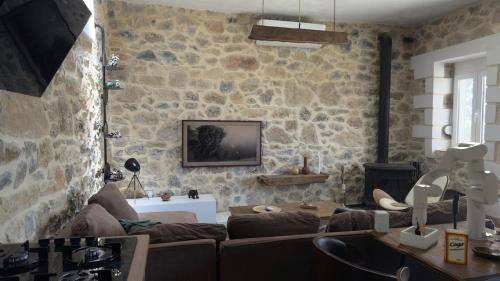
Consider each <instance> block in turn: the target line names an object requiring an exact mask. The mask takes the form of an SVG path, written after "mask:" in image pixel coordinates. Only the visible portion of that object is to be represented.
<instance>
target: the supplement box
mask: <svg viewBox="0 0 500 281" xmlns="http://www.w3.org/2000/svg"><path fill="white" fill-rule="evenodd" d="M374 230H375V231H376V232H377V233H390V213H389V212H388V211H386V210H374Z"/></svg>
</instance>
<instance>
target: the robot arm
mask: <svg viewBox="0 0 500 281" xmlns="http://www.w3.org/2000/svg"><path fill="white" fill-rule="evenodd" d="M487 154H488V147H487V146H486V144H484V143H482V142H481V143H480V142H469V141H466V142H464V141H463V142H461V143H460V142H459V144H458V145H457V146H451V147H448V148H447V149H446V150H445V152H444V154H443V155H442V156H441V158H440V160H439V162H438V163H437V165H436V166H435V167H433V168H432V169H431V170H429V171H428V172H427V173H425V175H424V176H422V178H421V180H420V181H419V183H417V184H414V185H413V195H412V196H413V201H412V204H413V205H412V208H413V209H412V218H411V219H412V220H411V223H412V225H413V226H414V227H415V235H419V236H421V231H420V227H421V225H423V223H424V222H425V225H424V228H425V226H426V223H427V220H428V219H427V214H428V212H427V210H428V198H439V197H441V196H442V195H443V188H442V187H441V186H440V185H437V184H434V182H435V181H437V180H438V179H440V178H443V177H446V176H450V174H452V173H453V170H454V169H455V167H456V166H457V164H458V163H459V162H461V163H467V179H468V182H469V183H470V184H472V185H475V186H470V187H468V188H467V189H466V191H465V197H466V198H465V199H466V206H467V207H466V208H467V209H466V232H467V234H468V240H469V239H470V240H473V241H482V242H483V241H488V240H489V239H494V235H493V234H492V233H487V230H486V212H487V210H486V207H485V206H491V207H492V206H494V205H496V204H498V200H499V179H498V176H497V175H496V173H494V172H492V171H490V170H486V167H485V160H484V157H486V155H487ZM417 224H419V225H417ZM417 226H419V228H418V227H417ZM424 235H425V229H424ZM488 238H489V239H488Z"/></svg>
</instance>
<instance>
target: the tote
mask: <svg viewBox="0 0 500 281" xmlns="http://www.w3.org/2000/svg"><path fill="white" fill-rule="evenodd" d="M424 229H425V235H424V237H423V236H419V235H415V227H414V225H411V226H410V227H408V228H405V229H403V230H401V231H400V232H399V233H400V235H399V237H400V238H399V239H400V241H399V243H401V245H404V246H408V247H412V248H416V249H420V250H425V249H426V250H427V249H429V248H430V247H432V246H435V245H436V244H437V243H438V242H439V229H435V228H431V227H425V228H424Z"/></svg>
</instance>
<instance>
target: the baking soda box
mask: <svg viewBox="0 0 500 281" xmlns="http://www.w3.org/2000/svg"><path fill="white" fill-rule="evenodd" d="M443 243H444V245H443V246H444V247H443V248H444V249H443V259H444V261H445V264H446V263H447V264H453V265H462V266H468V255H469V254H468V252H469V238H468V234H467V230H463V229H462V230H461V229H456V228H444V241H443Z"/></svg>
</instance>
